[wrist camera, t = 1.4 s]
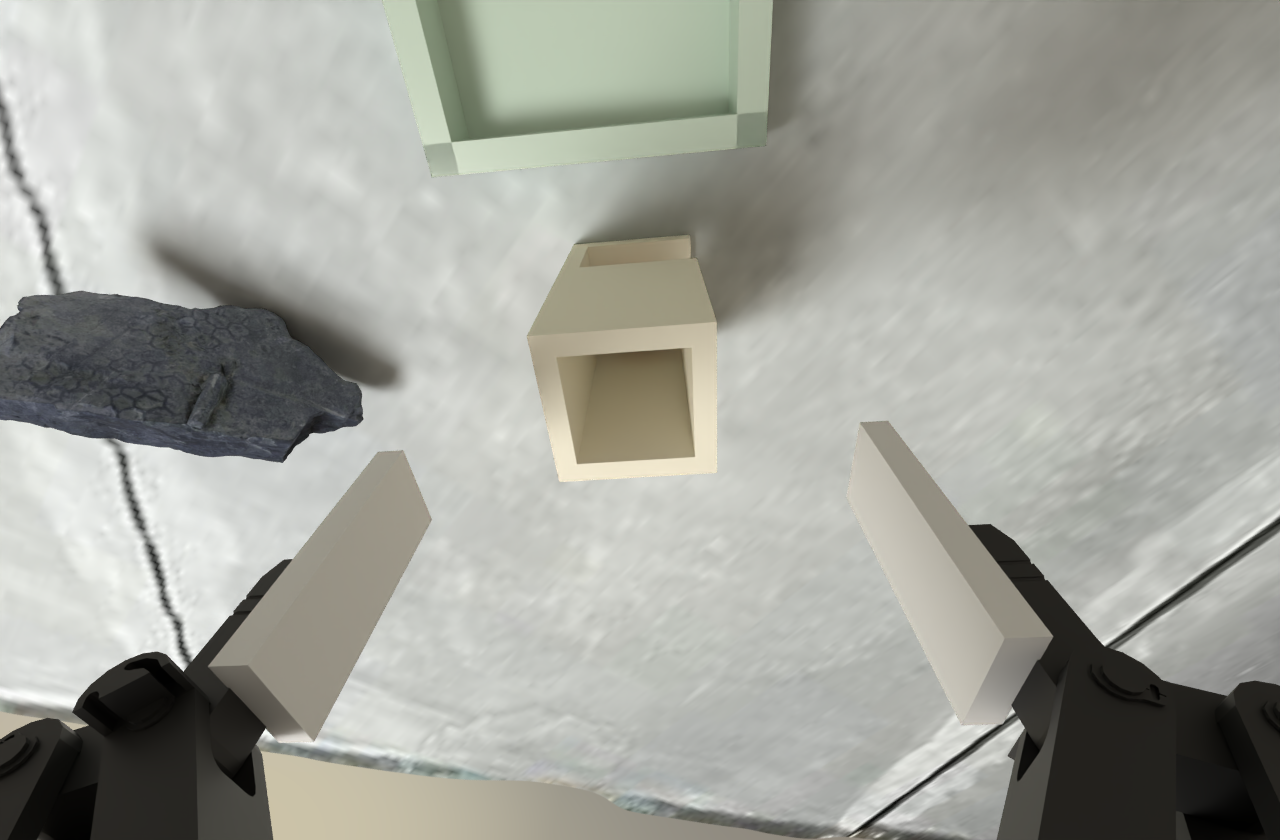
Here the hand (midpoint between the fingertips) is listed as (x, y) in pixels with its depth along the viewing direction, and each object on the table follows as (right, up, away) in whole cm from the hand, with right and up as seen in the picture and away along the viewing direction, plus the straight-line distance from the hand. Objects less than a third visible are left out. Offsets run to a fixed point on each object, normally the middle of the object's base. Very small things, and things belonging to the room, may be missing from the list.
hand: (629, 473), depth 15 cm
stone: (-22, +6, +15) cm, 27 cm away
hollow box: (0, +8, +13) cm, 15 cm away
